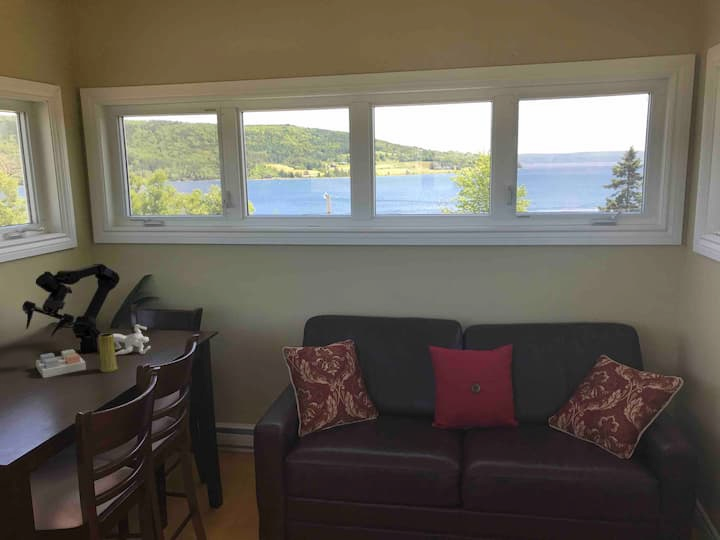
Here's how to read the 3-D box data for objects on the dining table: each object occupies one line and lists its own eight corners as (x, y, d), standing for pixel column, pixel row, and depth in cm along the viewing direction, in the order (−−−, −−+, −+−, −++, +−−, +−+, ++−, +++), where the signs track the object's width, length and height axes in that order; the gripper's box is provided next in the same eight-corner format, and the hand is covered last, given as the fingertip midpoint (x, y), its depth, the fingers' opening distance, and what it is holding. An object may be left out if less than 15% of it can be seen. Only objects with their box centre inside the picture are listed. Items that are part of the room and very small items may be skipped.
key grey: (56, 363, 222) (56, 357, 221) (59, 366, 218) (58, 359, 218) (44, 366, 219) (43, 359, 219) (46, 369, 216) (45, 362, 215)
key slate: (53, 359, 228) (52, 352, 227) (55, 362, 224) (54, 355, 224) (41, 361, 225) (40, 354, 225) (42, 364, 222) (42, 357, 221)
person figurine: (101, 333, 236) (145, 322, 240) (107, 331, 249) (149, 321, 253) (108, 363, 236) (152, 352, 240) (114, 360, 249) (156, 349, 253)
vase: (99, 373, 219) (96, 337, 216) (102, 368, 224) (98, 333, 222) (116, 371, 220) (113, 336, 218) (118, 366, 226) (115, 332, 224)
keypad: (77, 360, 235) (76, 353, 234) (86, 369, 223) (85, 362, 223) (36, 367, 226) (35, 360, 225) (43, 377, 214) (42, 370, 214)
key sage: (73, 355, 232) (72, 349, 232) (75, 358, 229) (75, 351, 228) (61, 357, 230) (61, 351, 229) (64, 360, 226) (63, 353, 226)
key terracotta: (77, 360, 226) (77, 353, 226) (80, 362, 223) (79, 355, 222) (65, 362, 224) (64, 355, 223) (67, 365, 220) (67, 358, 220)
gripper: (32, 282, 219) (13, 318, 211) (81, 299, 226) (65, 335, 218) (31, 292, 228) (13, 327, 220) (79, 308, 234) (63, 342, 227)
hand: (39, 332), depth 221 cm, fingers open, 9 cm apart
